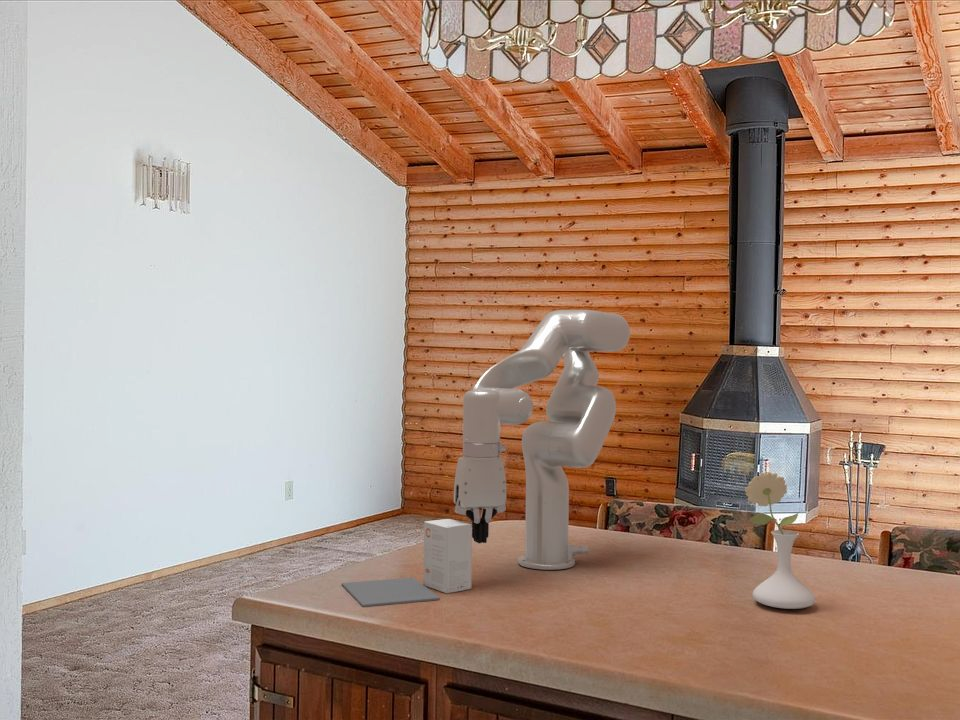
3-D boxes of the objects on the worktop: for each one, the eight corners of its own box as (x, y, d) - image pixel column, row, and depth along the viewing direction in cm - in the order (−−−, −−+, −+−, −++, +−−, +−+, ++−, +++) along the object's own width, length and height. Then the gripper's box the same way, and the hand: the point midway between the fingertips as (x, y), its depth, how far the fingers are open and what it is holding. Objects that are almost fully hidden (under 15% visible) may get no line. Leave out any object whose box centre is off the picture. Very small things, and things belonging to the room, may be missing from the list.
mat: (413, 579, 195) (413, 577, 195) (440, 599, 180) (440, 597, 179) (341, 585, 190) (341, 583, 190) (362, 607, 174) (362, 604, 174)
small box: (472, 589, 188) (472, 523, 188) (446, 594, 184) (446, 527, 184) (448, 581, 194) (448, 517, 194) (422, 585, 190) (423, 521, 190)
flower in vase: (815, 601, 181) (817, 470, 181) (816, 616, 171) (818, 478, 170) (745, 594, 186) (746, 467, 185) (741, 609, 175) (743, 474, 175)
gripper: (508, 448, 197) (506, 536, 198) (440, 450, 192) (439, 540, 192) (522, 452, 190) (521, 543, 191) (452, 454, 185) (451, 547, 185)
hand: (480, 541), depth 191 cm, fingers closed
